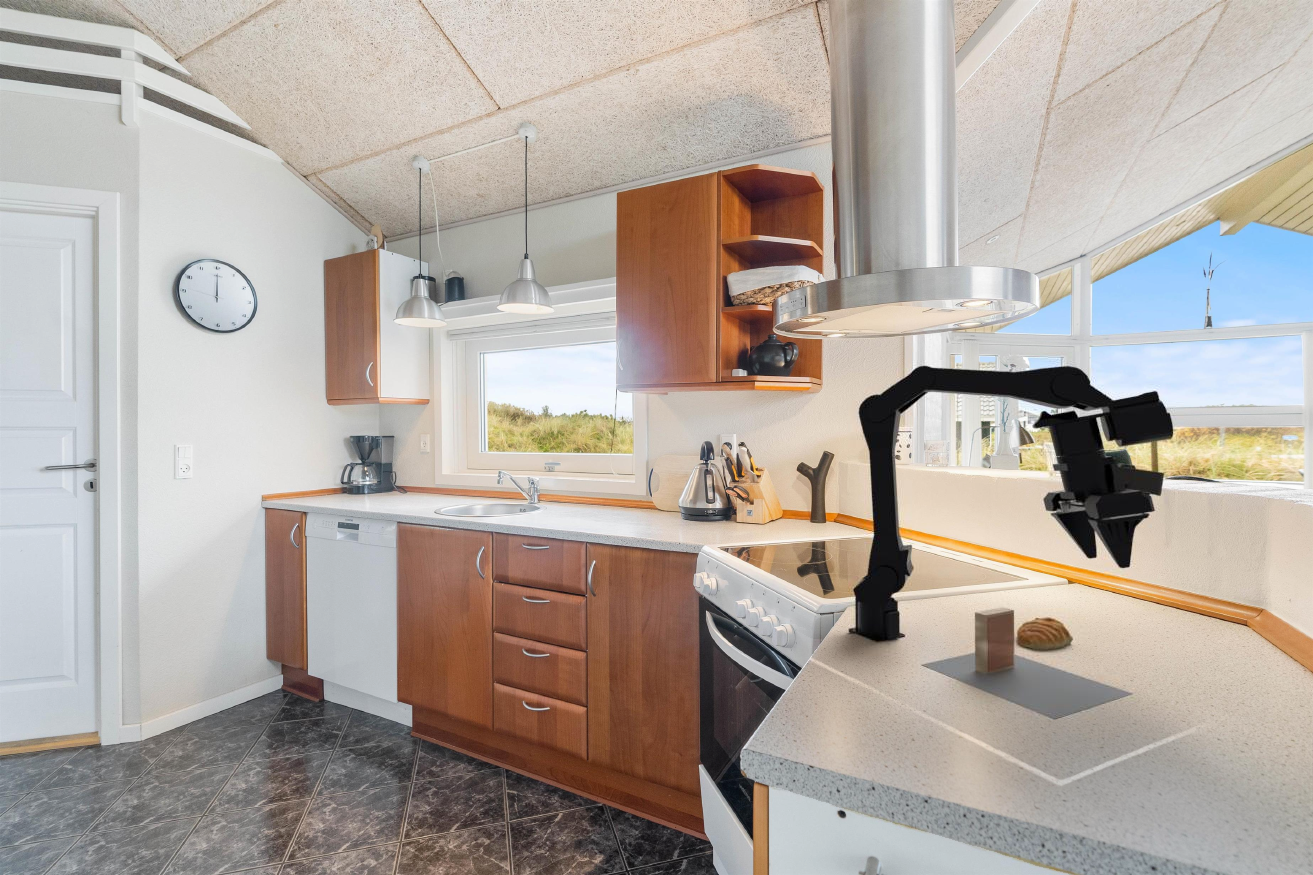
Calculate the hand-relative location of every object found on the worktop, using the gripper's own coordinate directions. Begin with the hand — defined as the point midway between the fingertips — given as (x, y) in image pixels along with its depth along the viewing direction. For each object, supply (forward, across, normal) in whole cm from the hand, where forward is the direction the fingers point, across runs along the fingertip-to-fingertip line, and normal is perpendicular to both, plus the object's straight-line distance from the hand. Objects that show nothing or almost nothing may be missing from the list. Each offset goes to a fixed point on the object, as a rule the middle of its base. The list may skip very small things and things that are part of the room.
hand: (1107, 562), depth 81 cm
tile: (+12, -4, +18) cm, 22 cm away
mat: (+13, -7, +16) cm, 21 cm away
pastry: (+14, +11, +7) cm, 19 cm away
